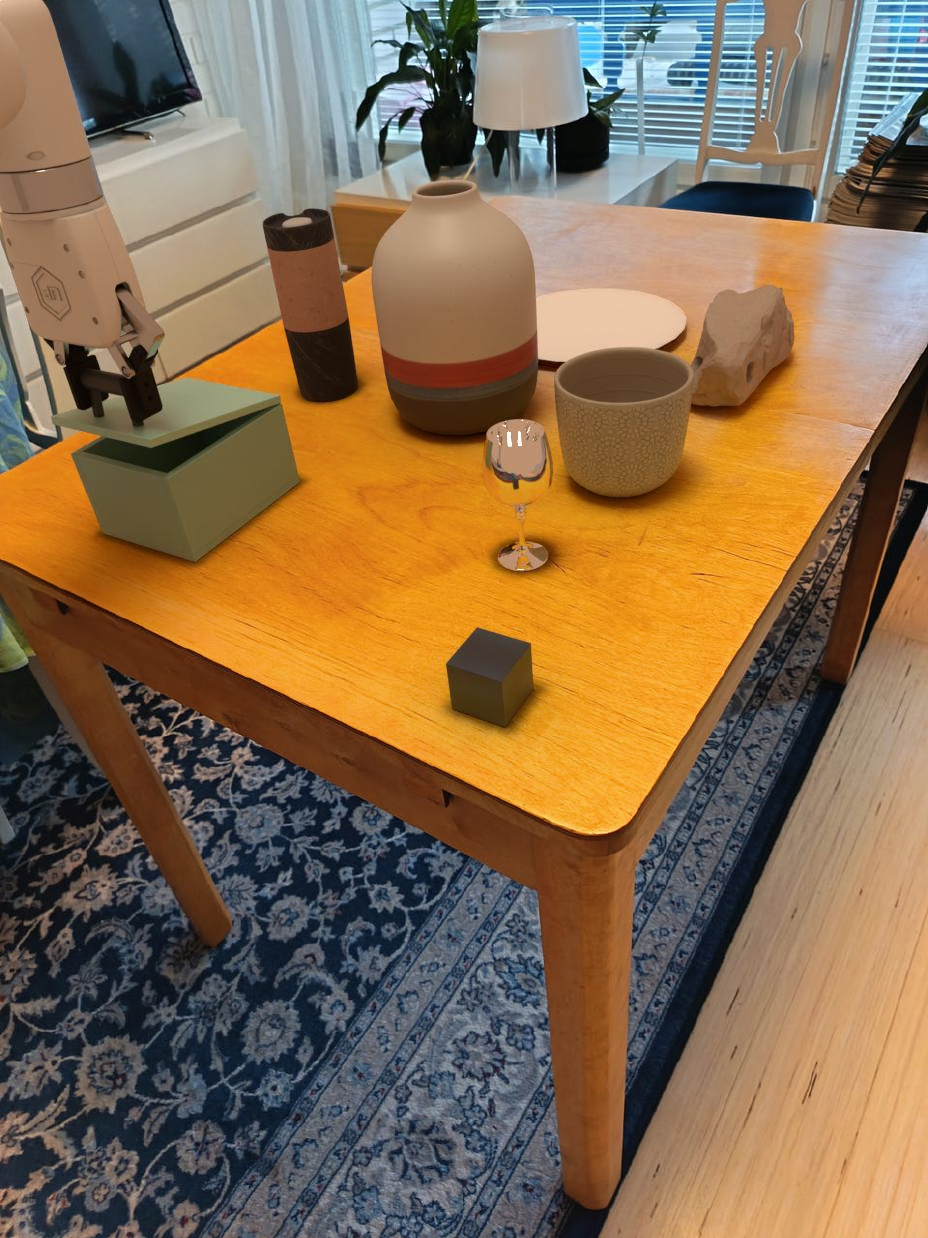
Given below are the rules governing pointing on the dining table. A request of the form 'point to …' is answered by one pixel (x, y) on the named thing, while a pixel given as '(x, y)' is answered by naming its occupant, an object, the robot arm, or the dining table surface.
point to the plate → (603, 322)
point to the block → (490, 676)
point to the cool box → (189, 483)
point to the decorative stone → (740, 344)
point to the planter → (623, 418)
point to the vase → (456, 312)
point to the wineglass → (518, 481)
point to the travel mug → (312, 303)
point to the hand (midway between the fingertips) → (120, 408)
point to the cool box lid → (181, 415)
